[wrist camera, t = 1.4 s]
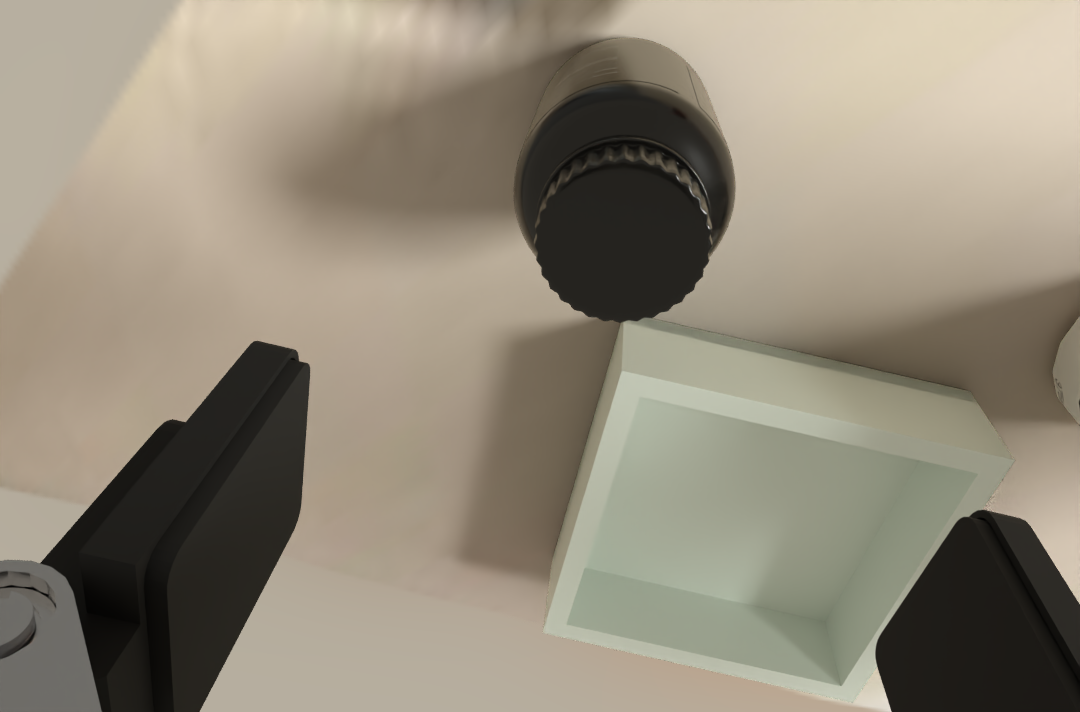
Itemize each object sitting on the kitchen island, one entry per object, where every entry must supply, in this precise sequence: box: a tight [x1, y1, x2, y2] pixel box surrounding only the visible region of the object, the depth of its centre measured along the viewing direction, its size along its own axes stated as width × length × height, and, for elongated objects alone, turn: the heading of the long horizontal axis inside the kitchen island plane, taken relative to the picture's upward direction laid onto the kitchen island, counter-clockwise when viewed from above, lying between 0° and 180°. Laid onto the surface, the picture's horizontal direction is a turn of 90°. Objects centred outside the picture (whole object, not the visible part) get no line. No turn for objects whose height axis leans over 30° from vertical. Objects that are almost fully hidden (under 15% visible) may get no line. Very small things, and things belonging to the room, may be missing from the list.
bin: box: [543, 318, 1015, 703], centre depth 37 cm, size 16×16×5 cm
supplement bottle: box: [514, 38, 735, 323], centre depth 26 cm, size 7×7×12 cm
